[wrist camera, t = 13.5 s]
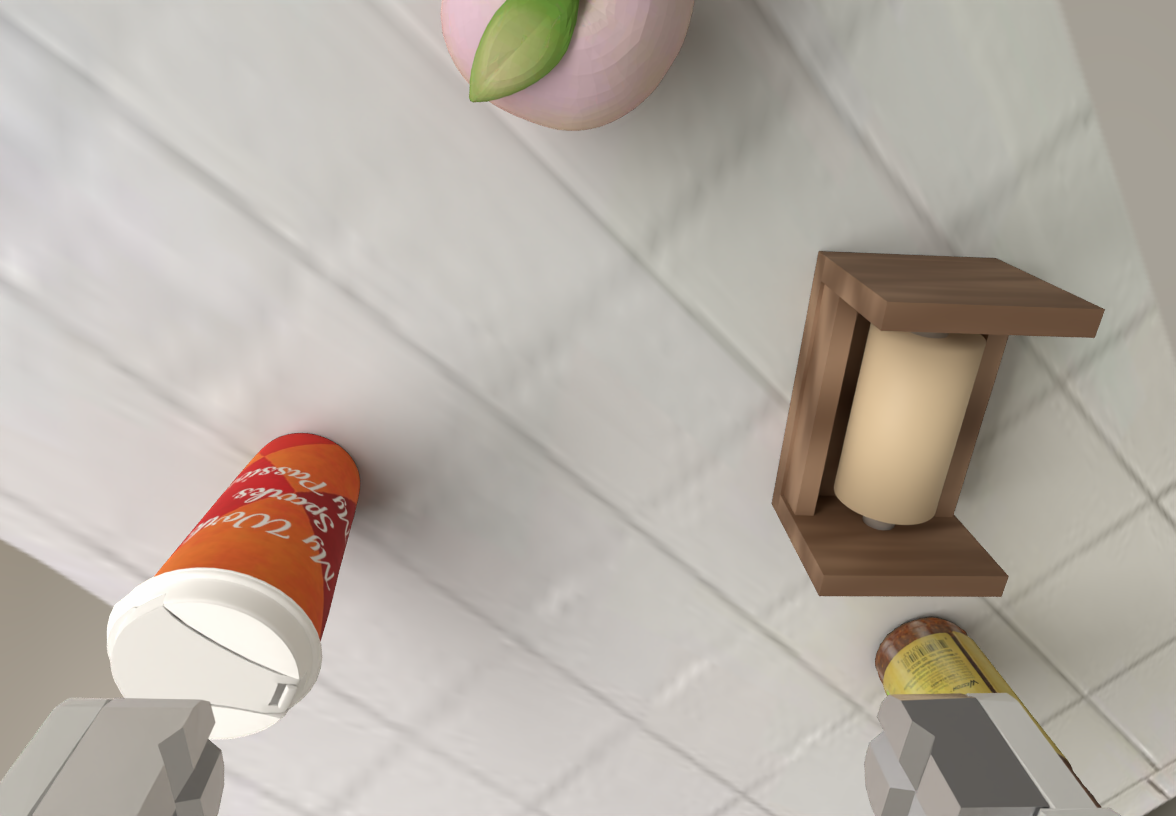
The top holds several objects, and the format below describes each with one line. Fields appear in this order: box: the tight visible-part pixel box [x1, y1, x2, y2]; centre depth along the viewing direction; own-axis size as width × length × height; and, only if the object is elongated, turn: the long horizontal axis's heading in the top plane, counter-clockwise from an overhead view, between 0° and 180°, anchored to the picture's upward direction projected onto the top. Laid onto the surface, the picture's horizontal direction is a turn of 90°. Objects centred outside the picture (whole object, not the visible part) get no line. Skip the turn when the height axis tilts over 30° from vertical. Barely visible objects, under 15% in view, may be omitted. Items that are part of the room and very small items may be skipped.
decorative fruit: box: [441, 0, 694, 131], centre depth 27 cm, size 9×8×10 cm
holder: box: [772, 251, 1105, 597], centre depth 37 cm, size 14×9×8 cm, turn 177°
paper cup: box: [107, 433, 360, 739], centre depth 34 cm, size 8×8×14 cm
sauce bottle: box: [875, 617, 1101, 808], centre depth 40 cm, size 6×6×20 cm
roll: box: [834, 323, 986, 525], centre depth 37 cm, size 9×5×5 cm, turn 177°
